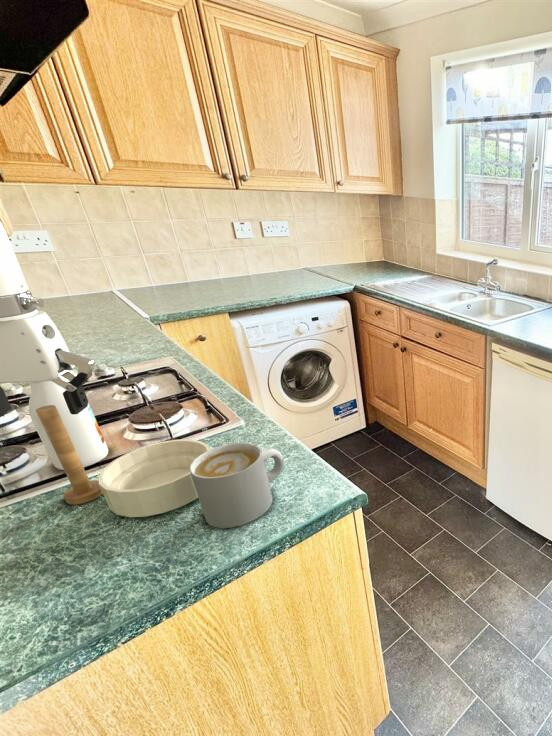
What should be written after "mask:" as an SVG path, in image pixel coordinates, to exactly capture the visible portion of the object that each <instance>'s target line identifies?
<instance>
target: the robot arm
mask: <svg viewBox="0 0 552 736" xmlns="http://www.w3.org/2000/svg"><path fill="white" fill-rule="evenodd" d="M44 305H45V302H44V299H43V298H42V297H35V296H33V294H32V292H31V291H30V289H29V286H28V285H27V281H26V278H25V276H24V274H23V271H22V269H21V266H20V263H19V261H18V259H17V256H16V254H15V251H14V248H13V246H12V244H11V242H10V238H9V235H8V233H7V230H6V229H5V226H4V225H3V222H1V220H0V384H10V383H11V384H13V383H14V384H15V383H30V382H44V381H52V382H54V383H55V384H57V385H59V386H60V387H62V388H64V389H65V390H66V391H65V392H63V396H64V399H65V401H66V404H67V406H68V409H69V411H70V413H71V414H78V413H80V412H81V411H82V410H84V409H85V408H86V407H87V406H88V404H89V399H88V397H87V394H86V391H85V388H84V385H85V384H86V382H87V381H88V380H89V379H90V378H91V377H92V376H93V372H94V368H95V365H96V361H94V360H93V359H91V358H88V357H84V356H81V355H78V354H75V353H73V352H70V349H69V348H68V346H67V343H66V341H65V339H64V338H63V336H62V334H61V332H60V330H59V329H58V327H57V325H56V324H55V322H54V321H53V320H52V318H51V317H50V316H49V315H48V314H47V312H46V311H44V310H38V308H43V307H44ZM76 367H77V369H78V370H77V371H78V372H77V373H76V372H74V371H73V370H74V369H75V368H76ZM62 376H63V377H62ZM11 410H13V409H12V405H11V403H10V401H9V399H8V397H7V395H6V392H5V390H4V388H3V387H2V386H1V385H0V417H1V416H3V415H5V414H7V413H8V412H10V411H11Z"/></svg>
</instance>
